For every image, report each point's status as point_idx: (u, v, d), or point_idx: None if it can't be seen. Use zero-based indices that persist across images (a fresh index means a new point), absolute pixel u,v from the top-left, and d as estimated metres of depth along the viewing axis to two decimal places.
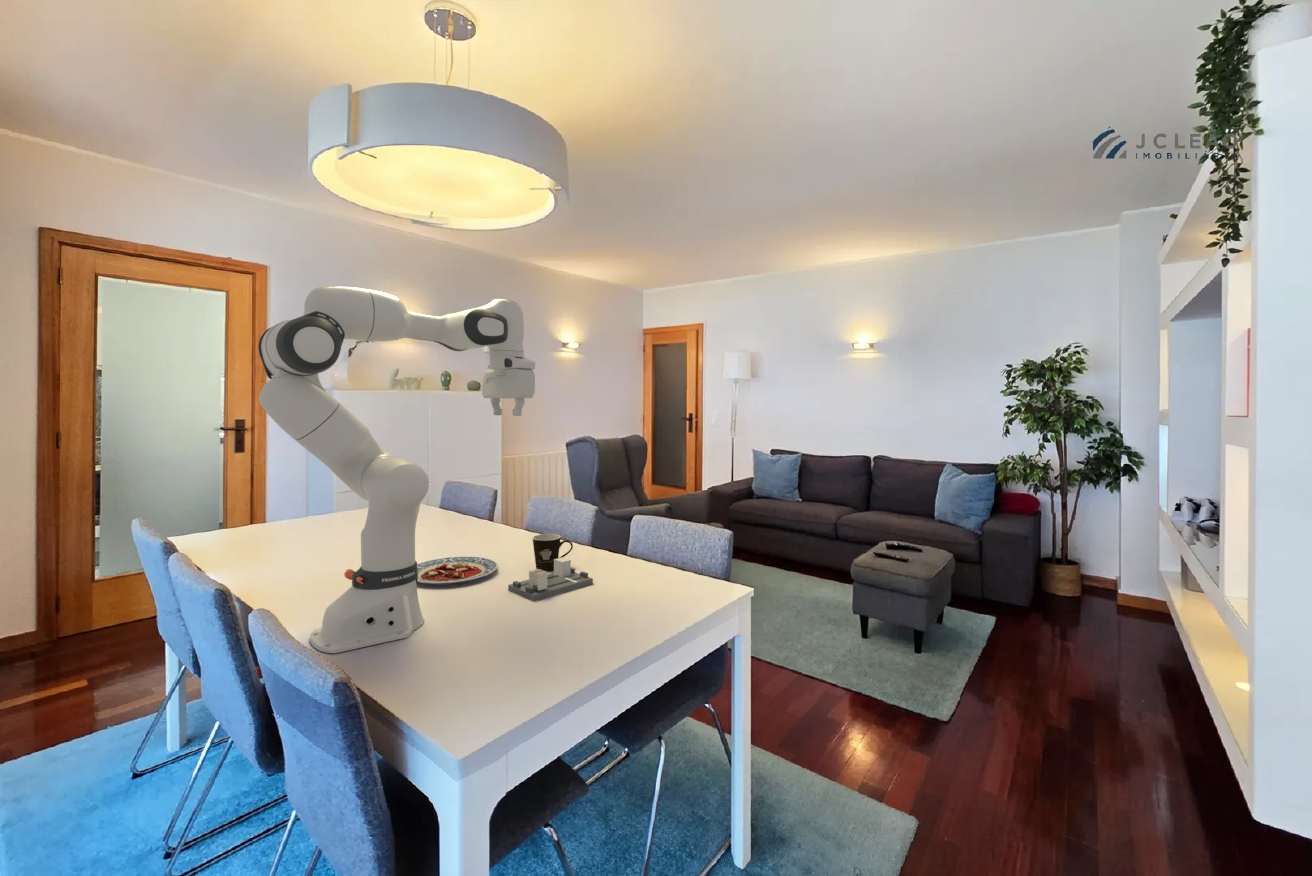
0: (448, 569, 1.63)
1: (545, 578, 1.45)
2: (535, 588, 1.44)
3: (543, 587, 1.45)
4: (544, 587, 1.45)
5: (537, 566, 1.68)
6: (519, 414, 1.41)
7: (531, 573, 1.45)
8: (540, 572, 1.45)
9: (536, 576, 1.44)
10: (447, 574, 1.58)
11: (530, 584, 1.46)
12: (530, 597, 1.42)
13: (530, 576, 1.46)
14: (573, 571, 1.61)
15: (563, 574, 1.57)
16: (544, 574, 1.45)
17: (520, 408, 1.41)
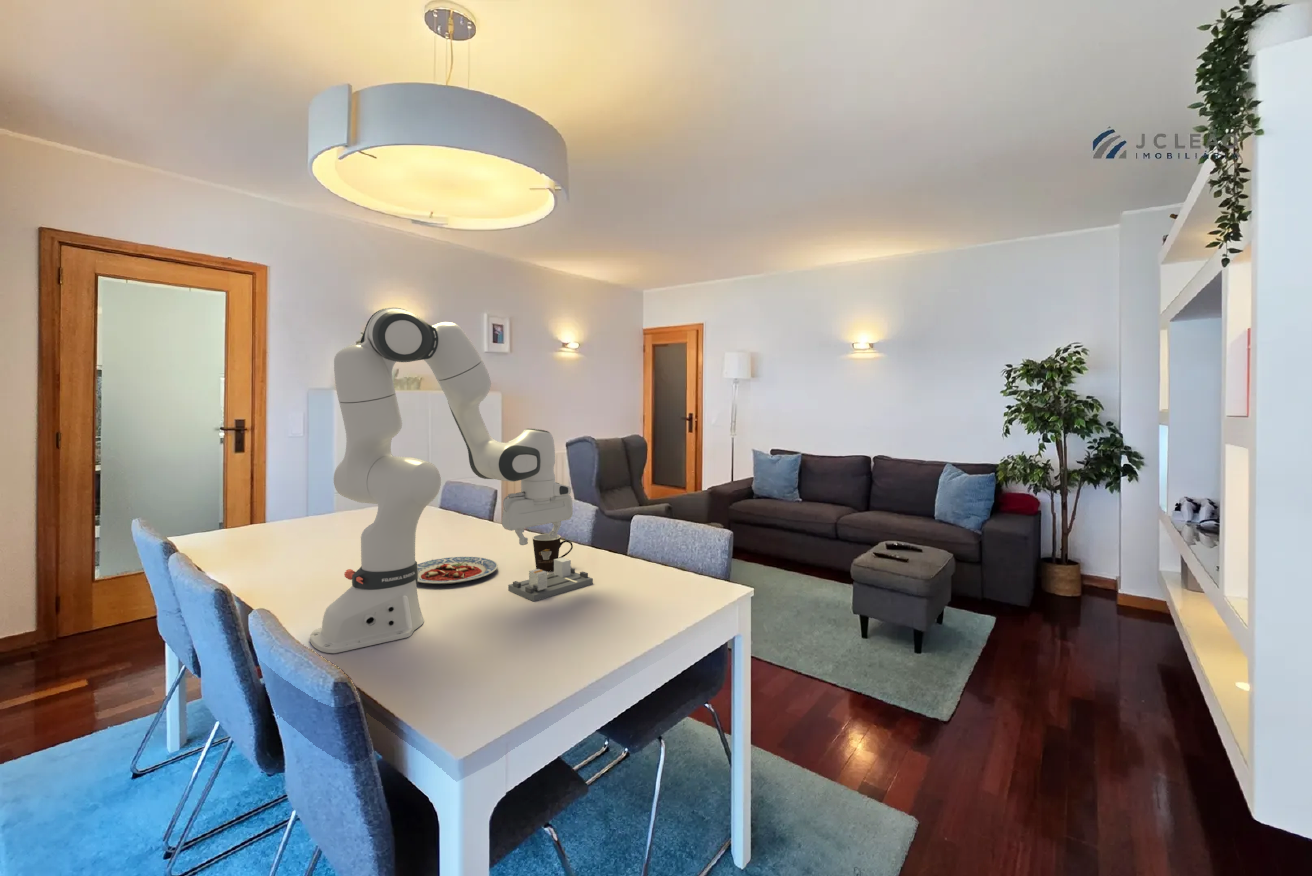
0: (448, 569, 1.63)
1: (545, 578, 1.45)
2: (535, 588, 1.44)
3: (543, 587, 1.45)
4: (544, 587, 1.45)
5: (537, 566, 1.68)
6: None
7: (531, 573, 1.45)
8: (540, 572, 1.45)
9: (536, 576, 1.44)
10: (447, 574, 1.58)
11: (530, 584, 1.46)
12: (530, 597, 1.42)
13: (530, 576, 1.46)
14: (573, 571, 1.61)
15: (563, 574, 1.57)
16: (544, 574, 1.45)
17: None
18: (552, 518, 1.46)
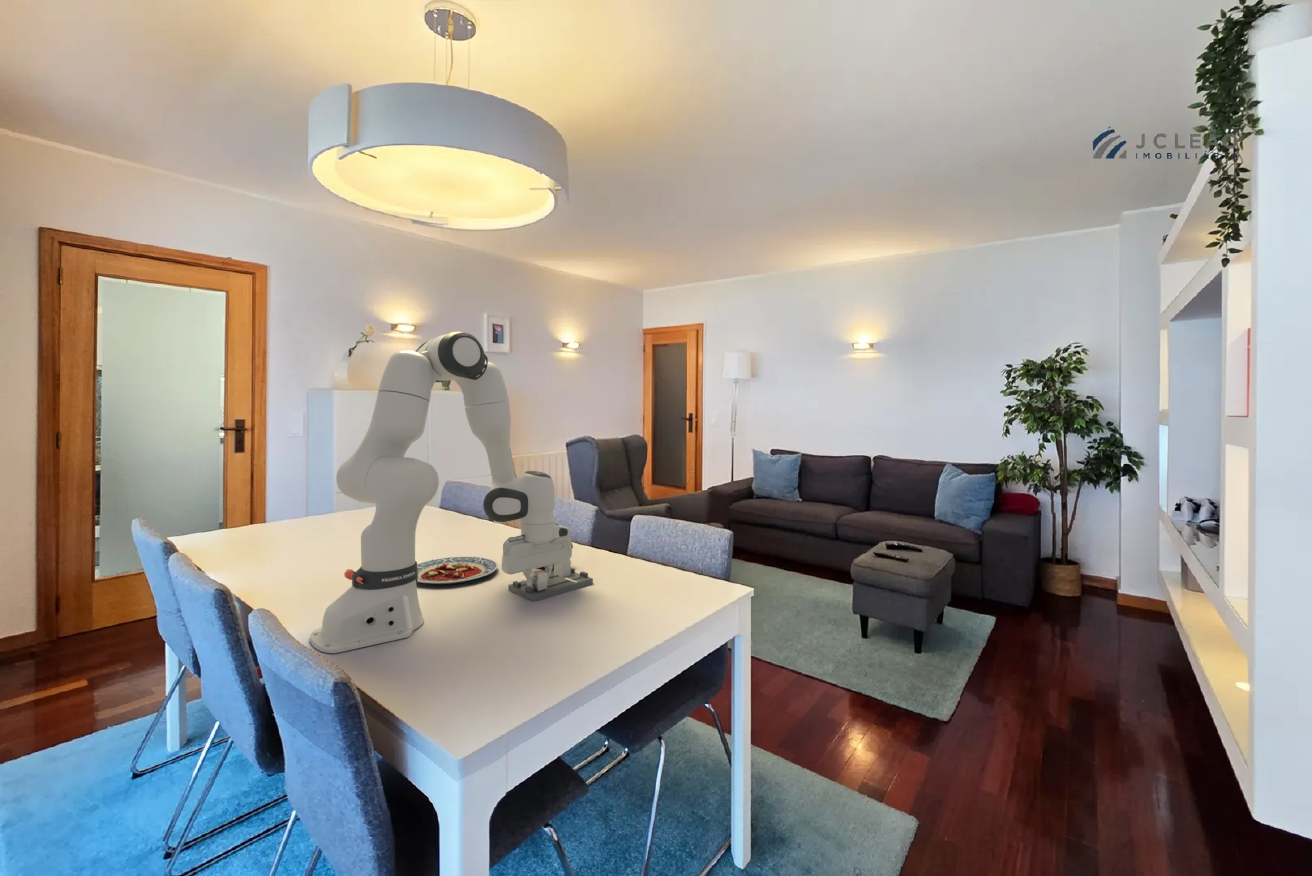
0: (448, 569, 1.63)
1: (545, 578, 1.45)
2: (535, 588, 1.44)
3: (543, 587, 1.45)
4: (544, 587, 1.45)
5: None
6: None
7: (531, 573, 1.45)
8: (540, 572, 1.45)
9: (536, 576, 1.44)
10: (447, 574, 1.58)
11: None
12: (530, 597, 1.42)
13: None
14: (573, 571, 1.61)
15: (563, 574, 1.57)
16: (544, 574, 1.45)
17: None
18: (551, 560, 1.47)
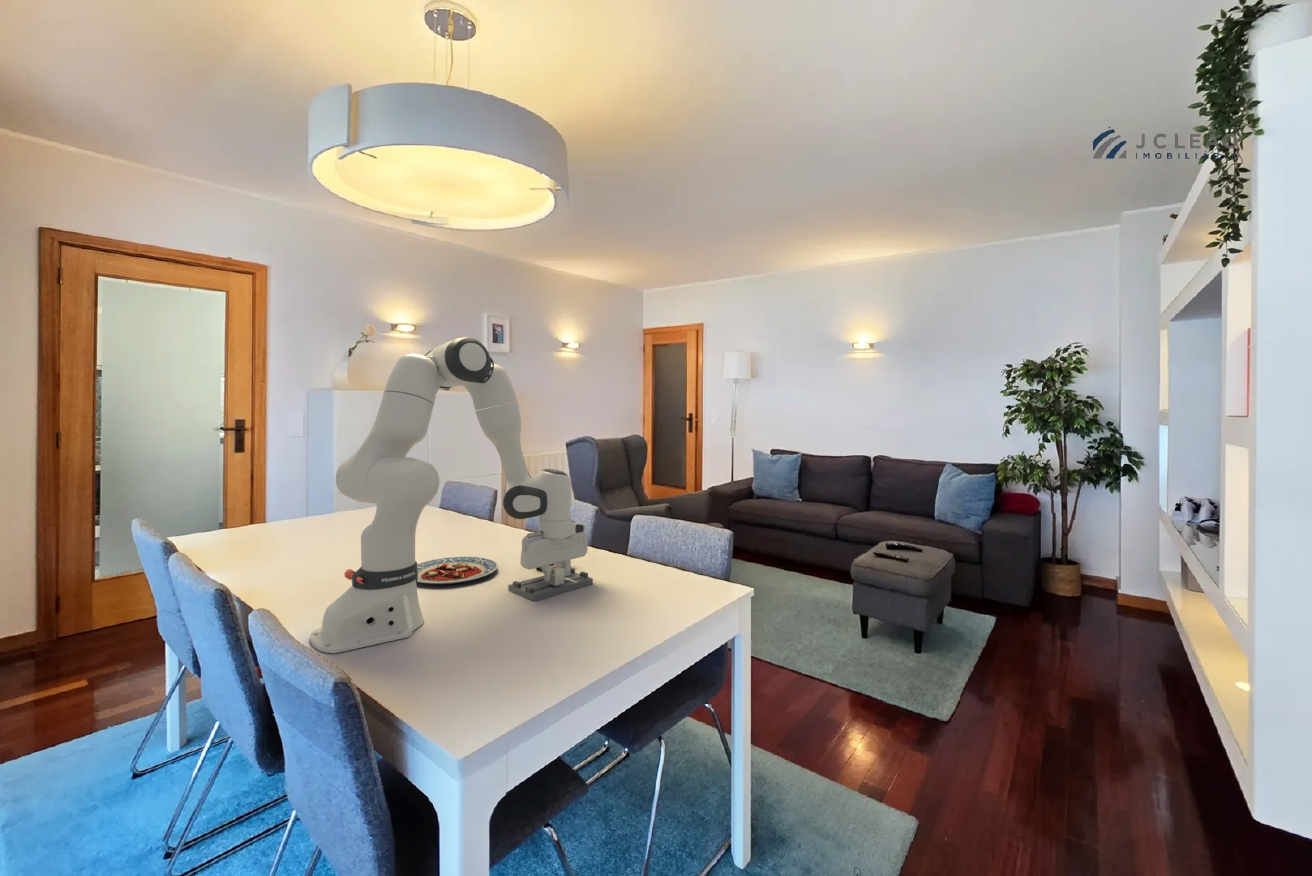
0: (448, 569, 1.63)
1: (562, 574, 1.49)
2: (552, 583, 1.48)
3: (560, 582, 1.49)
4: (561, 582, 1.49)
5: None
6: None
7: (548, 569, 1.49)
8: (557, 568, 1.49)
9: (553, 572, 1.48)
10: (447, 574, 1.58)
11: None
12: (530, 597, 1.42)
13: None
14: (573, 571, 1.61)
15: None
16: (561, 570, 1.49)
17: None
18: (568, 556, 1.51)
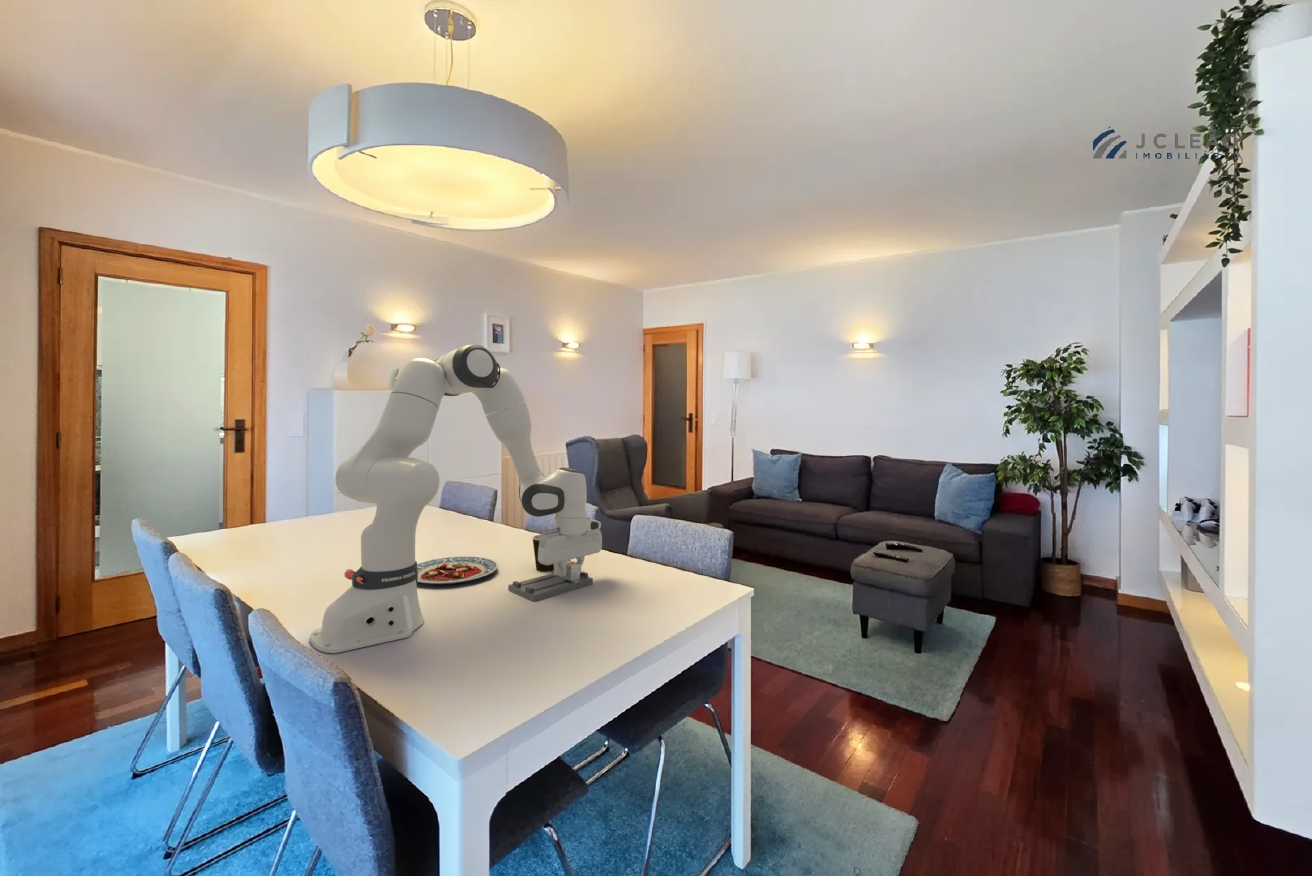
0: (448, 569, 1.63)
1: (578, 569, 1.53)
2: (568, 579, 1.52)
3: (576, 578, 1.53)
4: (577, 578, 1.53)
5: (537, 566, 1.68)
6: None
7: (564, 565, 1.53)
8: (573, 564, 1.53)
9: (569, 567, 1.52)
10: (447, 574, 1.58)
11: None
12: (530, 597, 1.42)
13: None
14: None
15: None
16: (577, 565, 1.53)
17: None
18: (583, 552, 1.55)
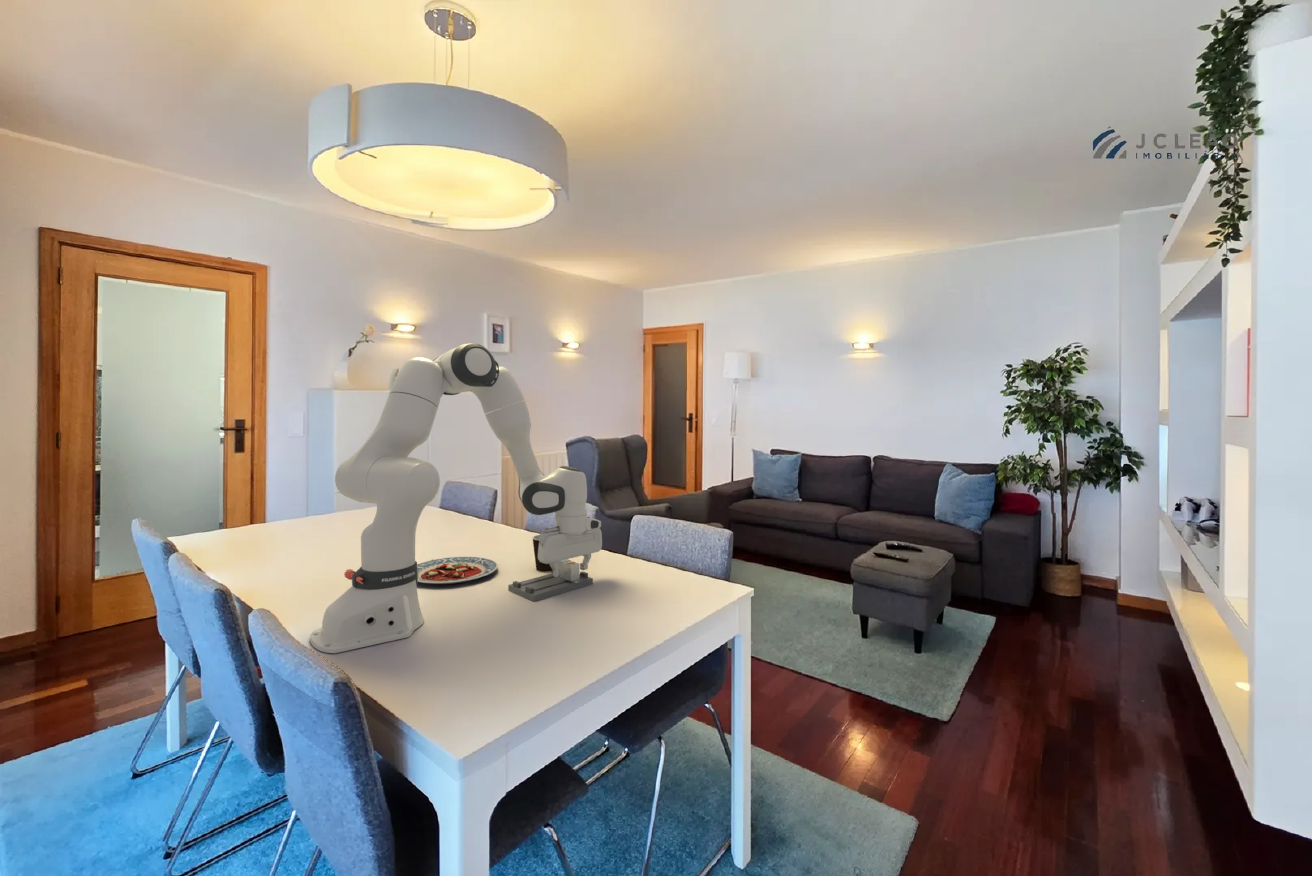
0: (448, 569, 1.63)
1: (577, 569, 1.53)
2: (568, 579, 1.52)
3: (576, 578, 1.53)
4: (576, 578, 1.53)
5: (537, 566, 1.68)
6: None
7: (564, 565, 1.53)
8: (573, 564, 1.53)
9: (569, 567, 1.52)
10: (447, 574, 1.58)
11: (563, 575, 1.54)
12: (530, 597, 1.42)
13: (563, 568, 1.54)
14: None
15: None
16: (576, 566, 1.53)
17: None
18: (583, 551, 1.54)
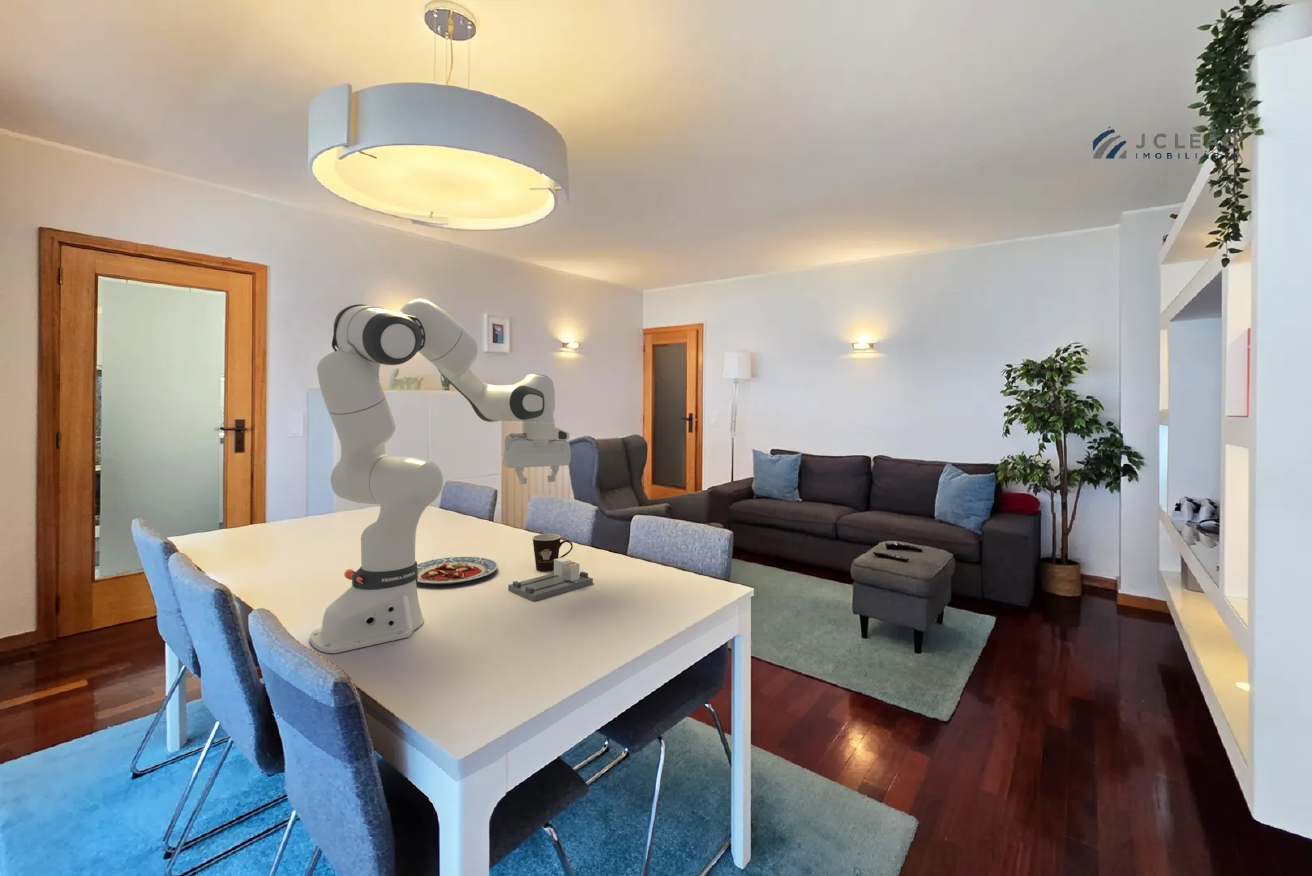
0: (448, 569, 1.63)
1: (577, 569, 1.53)
2: (568, 579, 1.52)
3: (576, 578, 1.53)
4: (576, 578, 1.53)
5: (537, 566, 1.68)
6: None
7: (564, 565, 1.53)
8: (573, 564, 1.53)
9: (569, 567, 1.52)
10: (447, 574, 1.58)
11: (563, 575, 1.54)
12: (530, 597, 1.42)
13: (563, 568, 1.54)
14: None
15: None
16: (576, 566, 1.53)
17: None
18: (551, 461, 1.53)
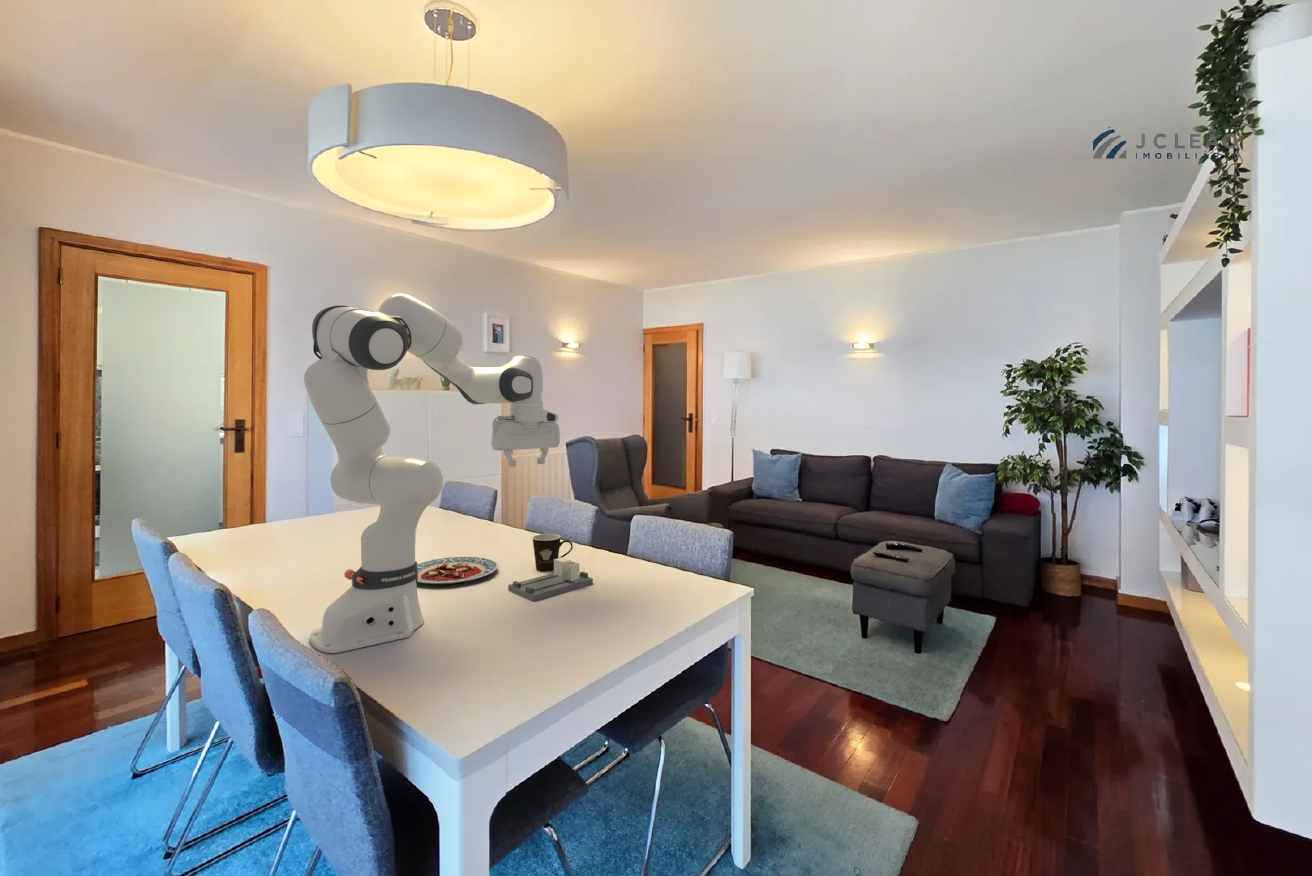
0: (448, 569, 1.63)
1: (577, 569, 1.53)
2: (568, 579, 1.52)
3: (576, 578, 1.53)
4: (576, 578, 1.53)
5: (537, 566, 1.68)
6: None
7: (564, 565, 1.53)
8: (573, 564, 1.53)
9: (569, 567, 1.52)
10: (447, 574, 1.58)
11: (563, 575, 1.54)
12: (530, 597, 1.42)
13: (563, 568, 1.54)
14: None
15: None
16: (576, 566, 1.53)
17: None
18: (540, 443, 1.53)
